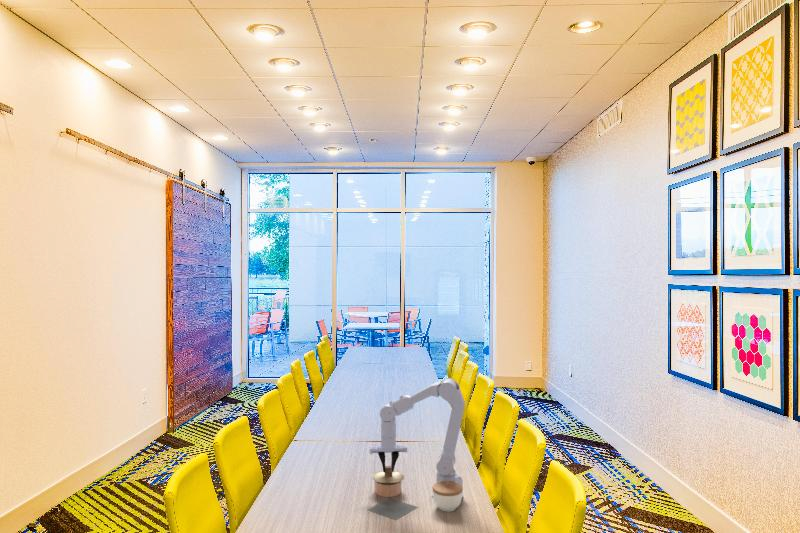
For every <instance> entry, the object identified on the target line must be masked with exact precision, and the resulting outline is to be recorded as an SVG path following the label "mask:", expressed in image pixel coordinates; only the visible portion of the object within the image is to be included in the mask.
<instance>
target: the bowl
mask: <svg viewBox="0 0 800 533" xmlns="http://www.w3.org/2000/svg"><path fill="white" fill-rule="evenodd" d="M402 481H403V480H402ZM402 481H400V482H396V483H380V482H376V481H374V493H375V494H376V496H377V495H378V496H380V497H382V498H383V497H387V498H391V497H392V498H393V497H397V496H399V495H401V493H402V490H403V489H402V488H403V487H402V486H403V482H402Z"/></svg>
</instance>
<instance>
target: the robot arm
mask: <svg viewBox="0 0 800 533" xmlns="http://www.w3.org/2000/svg"><path fill="white" fill-rule="evenodd" d="M460 386H461V385H459V383H458V382H457V381H456V380H455V379H454V378H451V377H445V378H444V379H443V380H438V381H436V382H434V383H432V384H430V385H428V386H426V387H425V388H423V389H421V390H419V391H417V392H416V393H414V394H412V395H408V394H406V395H404V394H401V395H400V396H399V398H397V399H395V400H393V401H392V400H391V401H389V402H388V403H386V404H384V406H383V407H382V408H381V409H380V411H379V417H380V419H381V422H380V424H381V425H380V445H377V446H371V447H369V454H370V455H373V454H377V455H378V457H379V460H380V462H381V465H382V472H385V466H386V453H387V454H388V453H391V454H390V455H391V456H390V457H391V465H390V466H392V472H395V470H394V469H395V466H396V464H397V461H398V459H399V457H400V453H408V446H407V445H397V421H396V420H397V419H396V417H399V416H401V415H402V414H405V413H407V412H409V411H411V410H413V409H414V406H415V404H417V403H420V402H421V401H423V400H425V399H428V398H430V397H435V398H439V397H441V398H442V399H443V400H444V401H446V402H447V403H448V404H449V406H450V407H451V411H450V415H449V416H450V417H449V421H448V425H447V430H446V434H445V439H444V443H443V448H442V452H441V454H440V455H439V458H438V461H437V463H436V466H435V467H436V468H435V469H436V483H437V482H441V481H452V482H456V483H459V484H460V485H461V486H462V488H463V478H462V477H461V476H460V475H458V474H457V472H456V470H455V468H454V467H455V465H456V456H455V454H456V448H457V443H458V439H459V434H460V429H461V426H462V420H463V415H464V411H465V407H466V401H465V398H464V397H463V393H462V391H461V388H460ZM463 489H464V488H463ZM463 491H464V490H462V498H464V494H463V493H464V492H463ZM431 498H433V494H432V495H431Z"/></svg>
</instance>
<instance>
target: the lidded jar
mask: <svg viewBox="0 0 800 533" xmlns="http://www.w3.org/2000/svg"><path fill="white" fill-rule="evenodd" d="M463 489H464V488H462V486H461V485H460V484H459V483H456V482H452V481H441V482H437V481H436V483H435V482H434V484H433V485H432V495H433V497H432V498H433V501H434V503H435V505H436V506H437V508H438V509H440V510H441V511H442V512H447V513H448V512H449V513H450V512H454V511H456V510H457V508H458V507H459V506H460V505H461V503H462V499H463V497H462V490H463ZM463 491H464V490H463Z"/></svg>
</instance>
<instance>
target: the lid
mask: <svg viewBox="0 0 800 533" xmlns="http://www.w3.org/2000/svg"><path fill="white" fill-rule="evenodd" d="M404 479H405V475H404V474H403V473H402V472H397V471H394V472H392V466H391V465H385V472H383V471H380V472H377V473H375V474H374V473H373V475H372V480H373V481H374V482H375V481H376V482H380V483H396V482H400V481H403V480H404Z"/></svg>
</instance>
